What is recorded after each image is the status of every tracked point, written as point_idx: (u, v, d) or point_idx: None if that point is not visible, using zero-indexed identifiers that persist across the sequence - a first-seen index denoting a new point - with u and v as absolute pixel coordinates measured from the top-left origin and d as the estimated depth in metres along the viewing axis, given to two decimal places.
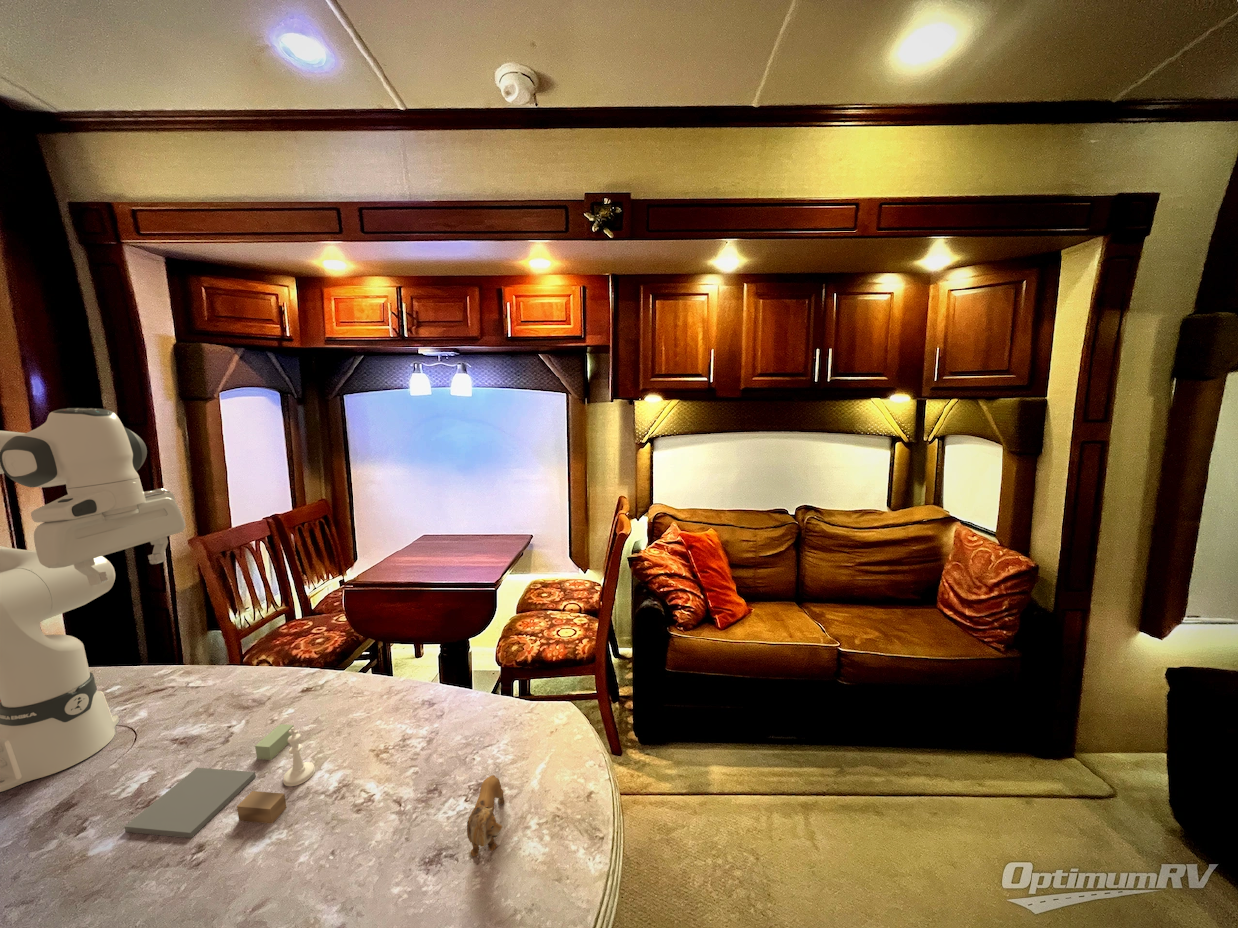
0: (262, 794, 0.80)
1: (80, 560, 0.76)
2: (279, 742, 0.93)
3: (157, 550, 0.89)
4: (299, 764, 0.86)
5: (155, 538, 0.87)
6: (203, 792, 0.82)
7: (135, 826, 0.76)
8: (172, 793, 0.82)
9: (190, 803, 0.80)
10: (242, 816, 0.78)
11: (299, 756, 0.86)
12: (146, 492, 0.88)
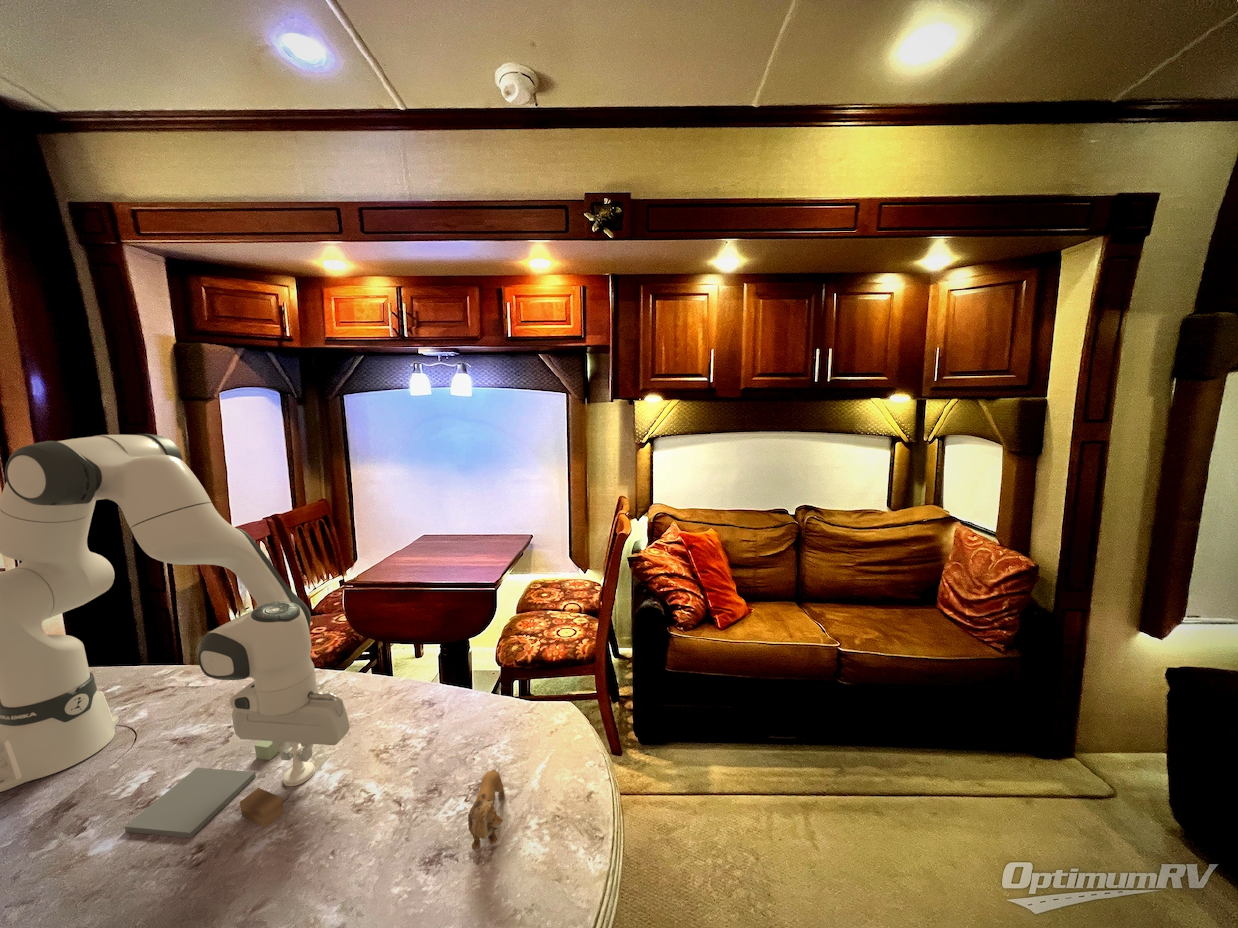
0: (264, 793, 0.80)
1: (248, 738, 0.85)
2: None
3: None
4: (299, 764, 0.86)
5: (307, 742, 0.83)
6: (203, 792, 0.82)
7: (135, 826, 0.76)
8: (172, 793, 0.82)
9: (190, 803, 0.80)
10: (244, 813, 0.78)
11: None
12: (315, 694, 0.83)
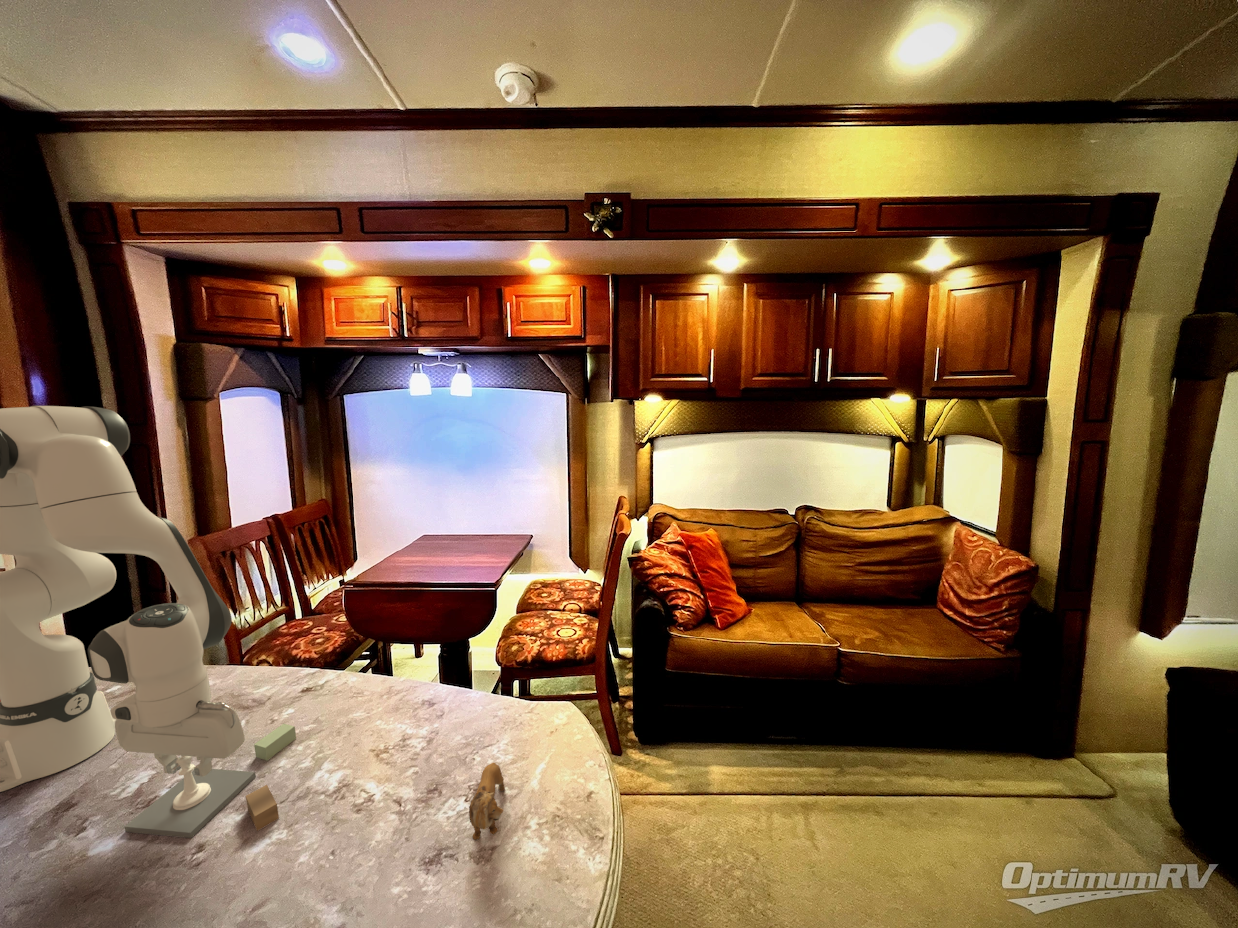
0: (267, 793, 0.80)
1: (134, 751, 0.79)
2: (277, 743, 0.92)
3: None
4: (191, 786, 0.80)
5: (196, 755, 0.78)
6: None
7: (135, 826, 0.76)
8: (172, 793, 0.82)
9: None
10: (248, 808, 0.79)
11: (191, 777, 0.81)
12: (204, 704, 0.77)
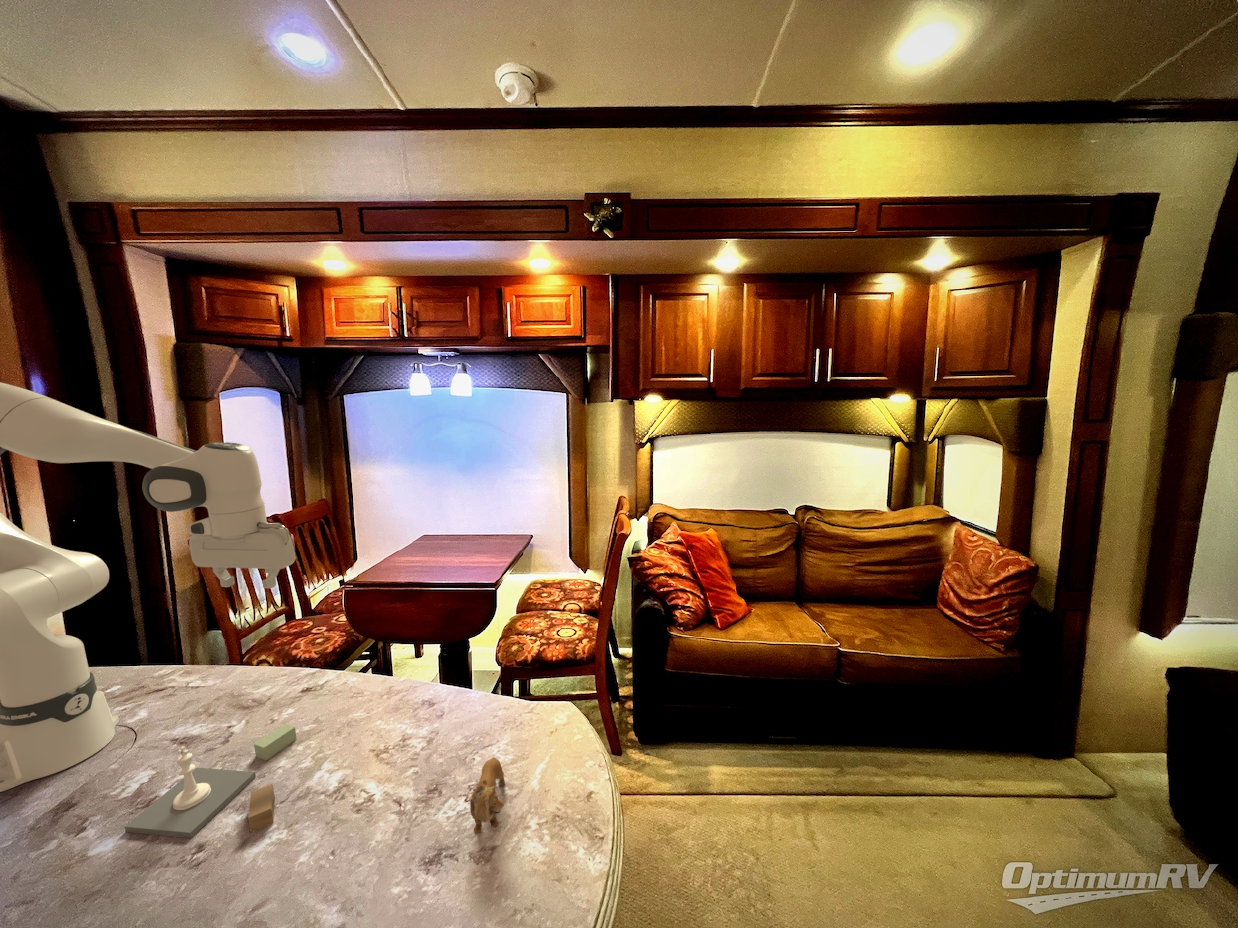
0: (268, 794, 0.80)
1: (204, 565, 0.95)
2: (276, 743, 0.92)
3: None
4: (191, 786, 0.80)
5: (256, 567, 0.93)
6: None
7: (135, 826, 0.76)
8: (172, 793, 0.82)
9: None
10: None
11: (191, 777, 0.81)
12: (263, 524, 0.93)
